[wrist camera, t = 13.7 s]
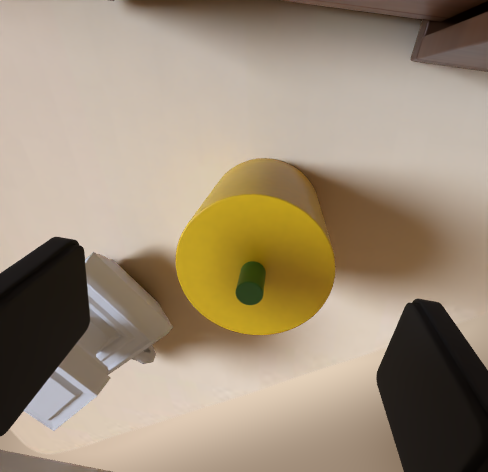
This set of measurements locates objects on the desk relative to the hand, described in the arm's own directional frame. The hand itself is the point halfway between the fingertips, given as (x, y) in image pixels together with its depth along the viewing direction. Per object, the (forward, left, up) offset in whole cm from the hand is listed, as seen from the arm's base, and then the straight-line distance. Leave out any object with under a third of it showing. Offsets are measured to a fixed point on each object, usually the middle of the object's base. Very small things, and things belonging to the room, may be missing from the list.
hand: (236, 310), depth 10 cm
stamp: (-9, -9, -11) cm, 16 cm away
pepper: (0, -1, -11) cm, 11 cm away
